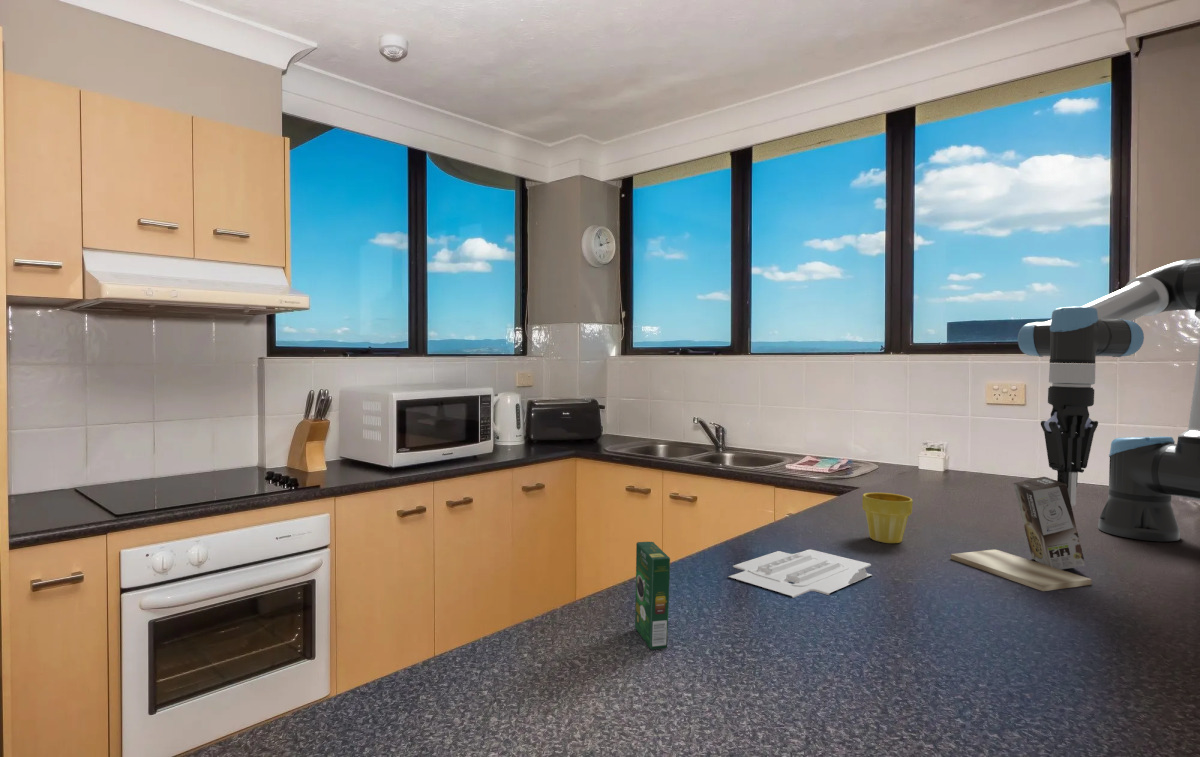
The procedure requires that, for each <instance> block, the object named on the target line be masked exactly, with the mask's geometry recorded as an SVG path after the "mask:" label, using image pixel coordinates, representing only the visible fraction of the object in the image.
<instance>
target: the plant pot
mask: <svg viewBox="0 0 1200 757" xmlns="http://www.w3.org/2000/svg"><path fill="white" fill-rule="evenodd" d="M861 499H862V501H861V502H862V505H861V506H862V510H863V511H864V512H865V517H866V521H867V528H868V534H869V538H870V539H872V541H874V542H875V541H876V542H880V543H883V544H884V543H885V544H900V543H902V541H903V538H904V534H905V531H906V528H907V527H906V526H907V523H908V520H909V516H911V515H912V513H913V502H914V500H913V499H912V498H911V497H910V496H906V495H902V494H897V493H889V492H865V493H863V494H862V498H861Z"/></svg>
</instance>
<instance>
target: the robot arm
mask: <svg viewBox="0 0 1200 757" xmlns="http://www.w3.org/2000/svg"><path fill="white" fill-rule="evenodd" d="M1191 310H1193V311H1194V316H1195V317H1196V318H1197V319H1198V320H1200V257H1199V258H1197V257H1196V258H1187V259H1183V260H1178V261H1174V262H1171V263H1169V264H1166V265H1163V266H1160V267H1158V268H1154V269H1152V270H1151V271H1147V272H1146V273H1143V274H1141V275H1138V276H1137V277H1133V278H1132V279H1131V280H1129V281H1128V282H1127V283H1126V285H1125V286H1124V287H1122V288H1121V289H1118V290H1116V291H1114V292H1111V293H1109V294H1107V295H1104V296H1102V297H1100V298H1097V299H1095V300H1093V301H1091V302H1088V303H1086V304H1084V305H1081V306H1066V307H1065V306H1064V307H1058V308H1055V309H1054V310H1053V311H1052V313H1051V319H1050V320H1046V321H1035V322H1028V323H1026V324H1024V325H1022V326H1021V328H1020V329H1019V332H1018V333H1017V334H1018V335H1017V343H1018V348H1019V349H1020V351H1021V352H1022V353H1023V354H1025V355H1027V356H1031V357H1032V356H1033V357H1035V356H1036V357H1040V358H1042V357H1049V371H1048V383H1050V384H1051V385H1050V386H1049V387H1048V388H1047V404H1048V405H1051V406H1052V409H1051V411H1050V417H1049V418H1048V419H1047V420H1041V421H1040V427H1041V428H1042V429H1041V430H1042V431H1043V433H1044V434H1043V435H1044V440H1045V450H1046V454H1047V462H1048V467H1049V468H1051V470H1053V471H1057V474H1056V475H1057V480H1056V481H1059V482H1062V483H1064V484H1067V490H1068V494H1069V498H1070V502H1071V507H1072V506H1073V507H1075V506H1076V504H1077V487H1078V478H1079V477H1078V475H1079V474H1078V473H1084V472H1085V469H1086V468H1087V467H1088V463H1089V458H1090V453H1091V450H1092V445H1093V441H1094V435H1095V432H1096V431H1097V427H1098V425H1099V422H1098V421H1097V420H1093V419H1091V418H1090V412H1089V409H1088V408H1089V407H1092V406H1094V404H1095V389H1094V387H1092V385H1094V384H1096V357H1112V358H1122V357H1129V356H1131V355H1134V354H1135V353H1136V354H1137V352H1138V351H1139V350H1140V349H1141V347H1142V346H1143V344H1144V340H1145V334H1144V333H1145V332H1144V330H1143V329H1142V327H1141V326H1140V325H1139V324H1138V323H1136V322H1135V320H1136V319H1139V318H1141V317H1144V316H1145V317H1152V316H1156V315H1158V314H1161V313H1163V312H1172V311H1191ZM1196 361H1197V362H1196V368H1195V376H1194V382H1193V383H1194V384H1193V391H1192V398H1191V399H1192V400H1191V406H1190V413H1189V418H1188V419H1189V420H1188V427H1187V429H1186V430H1185V431H1184V432H1182V433H1180V434H1178V436H1177V442H1176V441H1175V440H1174V437H1172V436H1131V437H1130V436H1128V437H1127V436H1125V437H1116V438H1114V439H1113V440H1112V441H1111V443H1110V450H1109V454H1108V457H1109V466H1108V469H1109V471H1108V474H1109V475H1108V498H1107V500H1106V503H1105V504H1104V507H1103V509H1102V511H1101V513H1100V516H1099V517H1098V529H1099V530H1100V531H1102V532H1104V533H1105V534H1110V535H1114V536H1118V537H1122V538H1127V539H1128V538H1129V539H1134V540H1139V541H1149V542H1164V543H1165V542H1177V541H1180V539H1181V528H1180V527H1179V523H1178V519H1177V518H1176V514H1175V512H1174V509H1173V506H1172V496H1173V497H1179V498H1186V499H1192V500H1197V501H1200V343H1199V346H1198V352H1197V360H1196Z"/></svg>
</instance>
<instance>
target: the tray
mask: <svg viewBox="0 0 1200 757" xmlns="http://www.w3.org/2000/svg"><path fill="white" fill-rule="evenodd" d="M871 566H872V564H871V563H868V562H865V561H861V560H858V559H851V558H848V557H843V556H839V555H835V554H831V553H826V552H824V551H823V552H822V551H819V550H815V549H806V550H804V551H800V552H796V553H789V552H784V551H780V550H777V551H774V552H772V553H771V552H770V553H767V554H765V555H761V556H759V557H756V558H753V559H748V560H746V561H743V562H741V563H740V562H739V563H737V564H735V565H734V564H733V565H732V568H735V569H736V570H737V569H738V570H741V572H738V573H735V574H731V575H729V576H727V579H728V578H731V579H734V580H735V579H736V580H737V581H741V582H744V583H748V584H751V585H755V586H758V587H762V588H764V589H768V590H769V591H775V592H778V593H779V594H783V595H787V596H790V597H792V599H793V598H794V599H795V598H796V597H798V596H799V597H800V596H802V595H804V594H806V593H808V592H817V593H819V594H823V595H827V596H830V594H831V593H833V592H835V591H839V590H840V589H842V588H845V587H847V586H849V585H852V584H854V583H856V582H859V581H861V580H864V579H865V578H868V577H873V574H871V573H868V572H867V570H866V569H867V568H870V567H871Z"/></svg>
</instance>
